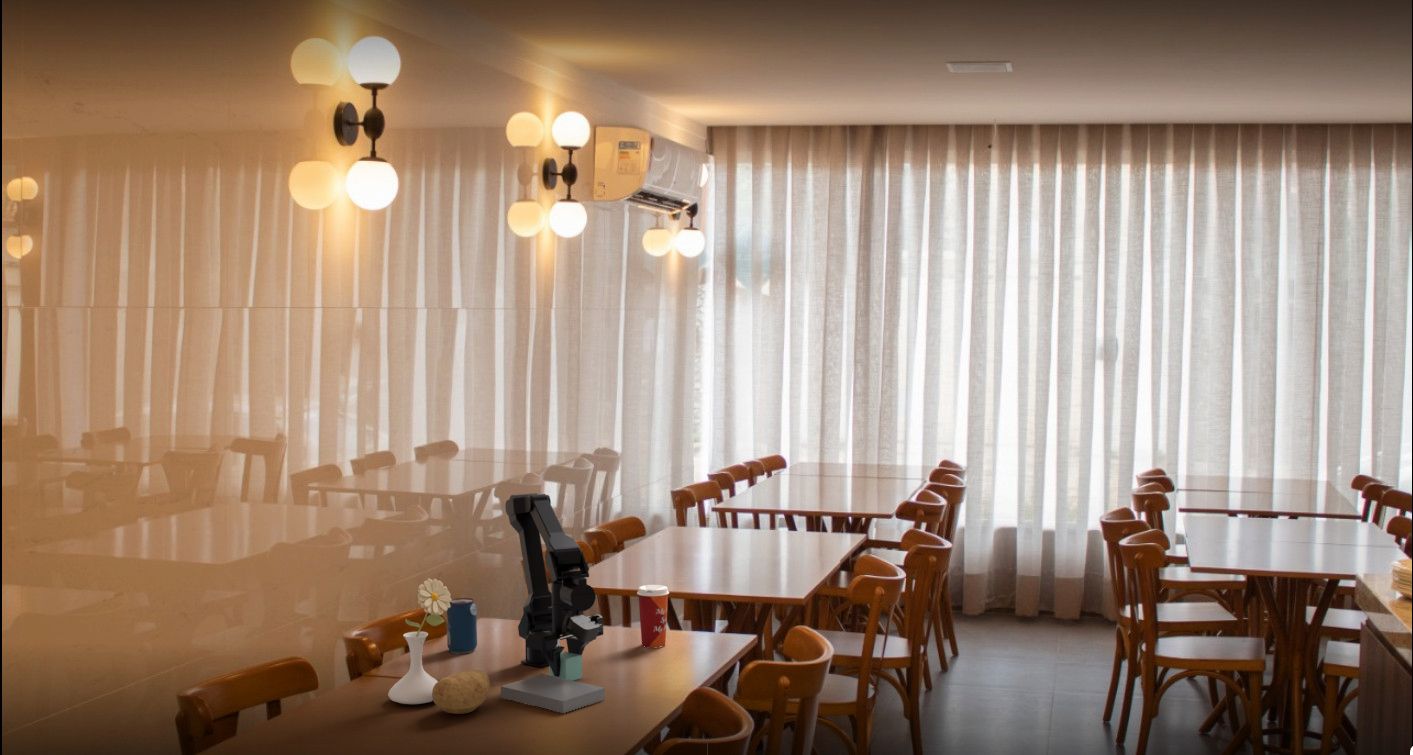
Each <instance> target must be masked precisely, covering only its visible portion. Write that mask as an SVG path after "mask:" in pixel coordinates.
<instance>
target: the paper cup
mask: <svg viewBox="0 0 1413 755" xmlns="http://www.w3.org/2000/svg"><path fill="white" fill-rule="evenodd" d="M668 589H669V588H668V586H665V585H663V584H662V585H661V584H647V585H646V584H645V585H641V586H639V587H638V590H637V593H636V595H638V605H639V606H638V607H639V608H638V609H639V623H640V624H639V626H640V638H641V639H640V640H641V647H643V646H645V647H660V646H664V645H665V646H666V642H667V641H666V638H667V620H668V619H667V618H668V604H669V603H668V600H669V599H668V598H669V594H670V591H669V590H668ZM665 646H664V647H665ZM645 647H644V648H645Z"/></svg>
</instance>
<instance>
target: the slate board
mask: <svg viewBox="0 0 1413 755" xmlns="http://www.w3.org/2000/svg"><path fill="white" fill-rule="evenodd" d="M605 690H606V688H605V687H602V686H599V685H595V684H589V683H585V682H581V681H576V680H574V681H572V680H568V679H563V678H559V677H554V676H550V675H549V674H544V673H541V674H538V675H533V676H531V677H528V678H524V679H520V680H517V681H514V682H513V681H512V682H510V683H508V684H507V683H506V684H504V685H501V686H500V699H502V698H504V699H503V700H506V699H509V700H508V701H510V700H513V701H512V702H514V701H518V702H522V703H526V704H530V705H534V706H539V707H542V708H546V709H549V710H548V711H550V710H553V711H552V712H555V711H556V712H555V713H559V712H560V713H559V714H563V713H564V714H567V713H570V712H572V710H573V711H575V709H576V710H579V709H581V707H582V708H585V707H588V706H591V705H594V704H597V703H599V702H602V701H605V700H606V696H605V695H606V693H605ZM518 702H517V703H518ZM522 703H521V704H522ZM526 704H525V705H526ZM530 705H529V706H530ZM587 705H588V706H587ZM534 706H533V707H534ZM584 706H585V707H584ZM542 708H541V709H542ZM578 708H579V709H578ZM546 709H545V710H546ZM569 711H570V712H569ZM566 712H567V713H566Z"/></svg>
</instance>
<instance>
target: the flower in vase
mask: <svg viewBox="0 0 1413 755" xmlns="http://www.w3.org/2000/svg"><path fill="white" fill-rule="evenodd" d="M417 592H418V594H417V600H418V601H417V603H418V605H420V607H421V608H422V609H423V610H424V612H425V615H424V618H423V620H422V622H421V624H420V623H418V622H415V621H414V622H413V621H412V620H409V619H407V618H405V623H406V624H407V625H408V626H410V627H416V628H418V630H417V631H410V632H409V631H408V632H406V633H404V634H403V635H402V636H403V638H404V639H405V640H406V642H407V645H408V648H409V653H410V656H409V657H410V665H409V670H408V671H407V673H405V675H404V676H403V677H401V678H400V679H399V680H398V681H397V682H396V683H395V684H394V685H392V687H391V688H390V689H389V691H388V694H387V696H388V698H389V699H390V700H391V701H393V702H396V703H399V704H402V705H420V704H426V703H432V702H434V700H433V697H432V691H433V687H434V686H435V684H436V683H437V682H438V681H439V680H437V679H436V678H434V677H433V676H431V675H430V674H429V673H427V671H425V670H424V667H423V659H422V656H423V648H424V643H425V641H426V639H427V637H428V635H429V633H428V632H427V631H421V630H422V627H423V625H424V624H425V622H427V624H429V625H430V626H432V627H436V626H440V625H442V624H443V623H444V622H445V619H444V618H443V617H442V616H441V615H443V614H444V612H447V609H448V608H450V603H449V602H451V601H452V598H451V593H450V590H448V587H447V586H444V583H443V581H441V580H437V578H433V579H431V578H427V580H424V581H423V584H422V583H421V584H420V585H419V586H418V589H417ZM428 614H429V615H428Z"/></svg>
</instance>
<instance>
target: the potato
mask: <svg viewBox="0 0 1413 755" xmlns="http://www.w3.org/2000/svg"><path fill="white" fill-rule="evenodd" d="M437 681H438V682H437V683H436V684H435V686H434V687H433V691H432V697H433V700H434V701H433V703H434V704H435V705H436V706H437V707H438V708H439V710H441V711H443V712H445V713H448V714H454V715H456V714H457V715H462V714H469V713H472V712H474V711H475V710H476V709H477V708H478V707H479V706H481V705H482V704H483V703H484V702H485V699H486V698H487V695H488V692H489V690H490V685H491V682H490V677H489V676H488V673H486V672H485V671H483V670H481V669H473V668H472V669H468V670H465V671H459V672H456V673H452V674H450V675H447V676H445V677H442V678H440V680H437Z"/></svg>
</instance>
